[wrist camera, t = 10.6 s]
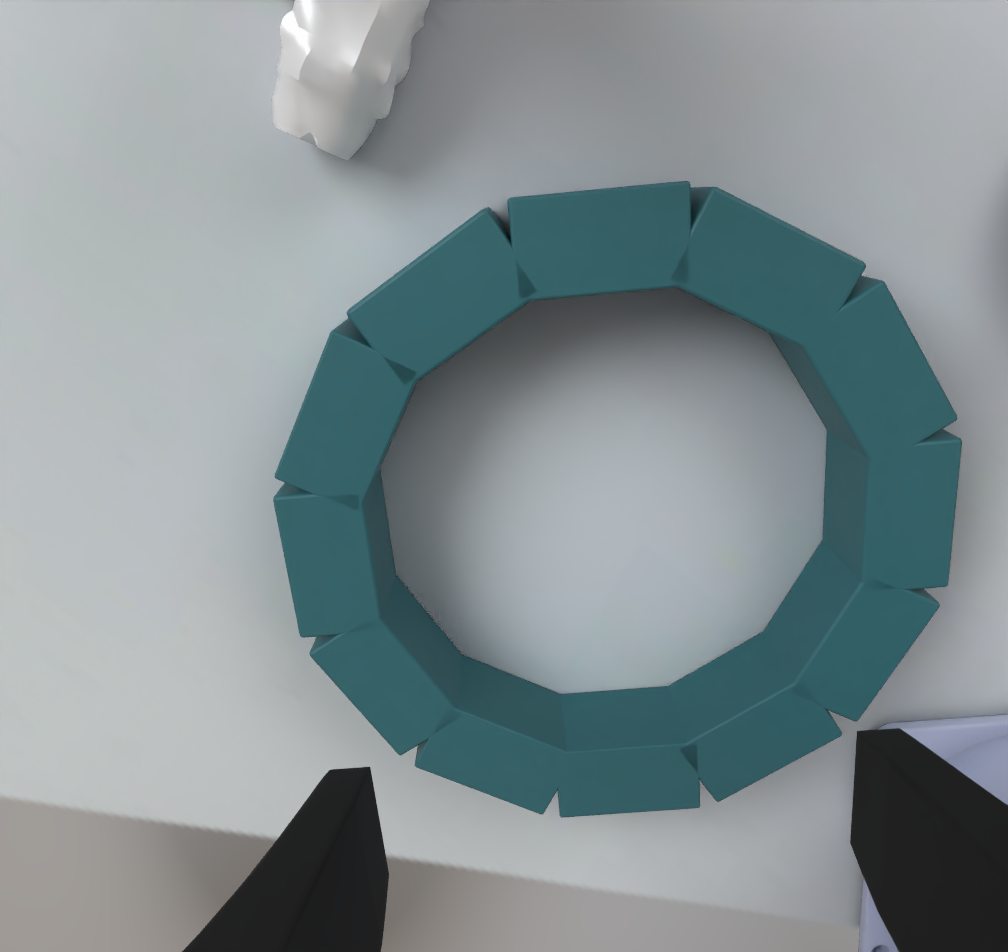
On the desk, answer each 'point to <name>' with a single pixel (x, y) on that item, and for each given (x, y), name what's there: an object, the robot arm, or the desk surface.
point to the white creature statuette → (342, 68)
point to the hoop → (724, 681)
